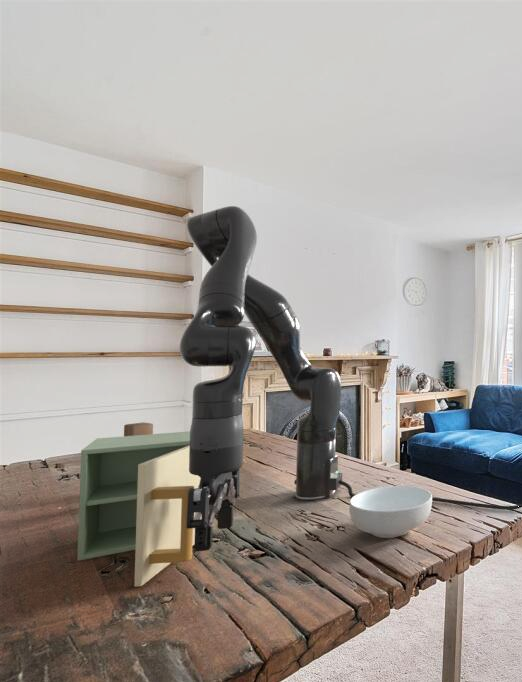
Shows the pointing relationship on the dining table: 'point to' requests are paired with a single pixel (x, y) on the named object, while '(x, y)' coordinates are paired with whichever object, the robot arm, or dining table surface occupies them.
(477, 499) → the dining table surface
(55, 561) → the dining table surface
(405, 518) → the cereal bowl
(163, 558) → the cupboard door
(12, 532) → the dining table surface
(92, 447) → the cupboard
